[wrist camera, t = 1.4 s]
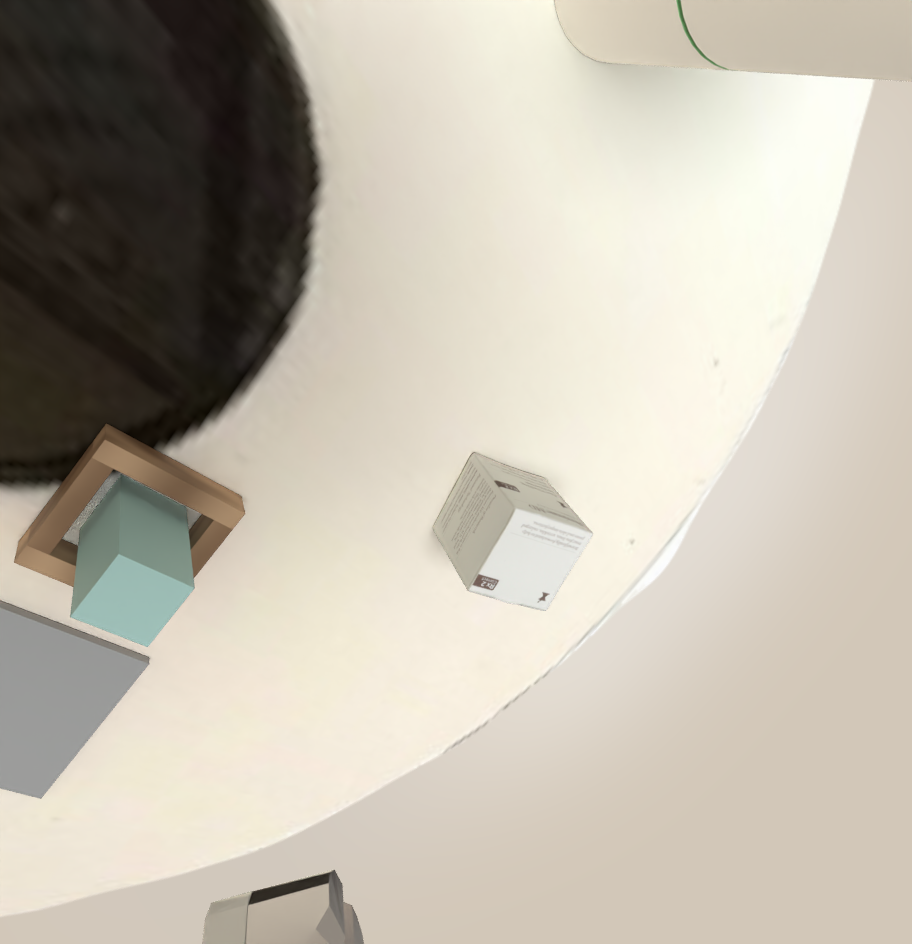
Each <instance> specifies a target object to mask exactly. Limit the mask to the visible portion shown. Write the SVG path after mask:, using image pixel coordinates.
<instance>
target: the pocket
mask: <svg viewBox="0 0 912 944" xmlns="http://www.w3.org/2000/svg"><path fill="white" fill-rule="evenodd" d="M113 469H115V470H117V471H119V472H121V473H123V474H125V475H127V476H129V477H131V478H133V479H135V480H137V481H139V482H141V483H142V484H144V485H146V486H148V487H150V488H152V489H154V490H156V491H158V492H160V493H162V494H164V495H166V496H168V497H170V498H172V499H174V500H176V501H178V502H180V503H182V504H184V505H186V506H188V507H190V508H192V509H194V510H196V511H197V512H199V513H201V514H202V515H201V516H200V518H199V519H198V520H197V522H196V523H195V524H194V525H193V527H192V528H191V529H190V531H189V540H190V549H191V559H192V568H193V578H194V577H195V576H196V575H197V574H198V572H199V571H200V570H201V569H202V567H203V566H204V565H205V564H206V562H207V561H208V560H209V559H210V557H211V556H212V555H213V553H214V552H215V551H216V550H217V548H218V547H219V546H220V545H221V543H222V542H223V541H224V540H225V538H226V537H227V536H228V535H229V533H230V532H231V531H232V530H233V528H234V527H235V526H236V525H237V523H238V522H239V521H240V520H241V518H242V517H243V516H244V514H245V510H244V506H243V501H242V497H241V496H240V495H238V494H236V493H234V492H232V491H231V490H229V489H227V488H225V487H223V486H221V485H219V484H218V483H216V482H214V481H212V480H210V479H208V478H206V477H205V476H203V475H201V474H199V473H197V472H195V471H194V470H192V469H190V468H188V467H186V466H184V465H182V464H181V463H179V462H177V461H175V460H173V459H171V458H169V457H168V456H166V455H164V454H162V453H160V452H158V451H156V450H155V449H153V448H151V447H149V446H147V445H145V444H143V443H142V442H140V441H138V440H136V439H134V438H132V437H131V436H129V435H127V434H125V433H123V432H121V431H119V430H118V429H116V428H114V427H112V426H110V425H108V424H106V425H105V426H104V427H103V429H102V430H101V431H100V433H99V434H98V435H97V437H96V438H95V439H94V441H93V442H92V444H91V445H90V446H89V448H88V449H87V450H86V452H85V453H84V454H83V456H82V457H81V458H80V460H79V461H78V462H77V464H76V465H75V467H74V468H73V469H72V471H71V472H70V473H69V475H68V476H67V477H66V479H65V480H64V481H63V483H62V484H61V485H60V487H59V488H58V490H57V491H56V492H55V494H54V495H53V496H52V498H51V499H50V500H49V502H48V503H47V504H46V506H45V507H44V508H43V510H42V511H41V513H40V514H39V515H38V517H37V518H36V519H35V521H34V522H33V523H32V525H31V526H30V527H29V529H28V530H27V531H26V533H25V534H24V536H23V537H22V538H21V540H20V541H19V543H18V547H17V551H16V556H15V560H14V563H17V564H19V565H21V566H24V567H26V568H29V569H31V570H34V571H36V572H38V573H41V574H43V575H46V576H48V577H51V578H53V579H56V580H58V581H60V582H63V583H65V584H68V585H70V586H73V587H74V580H75V571H76V562H77V553H78V546H76V545H74V544H71V543H69V542H67V541H65V540H62V537H63V536H64V535H65V533H66V532H67V531H68V529H69V528H70V527H71V525H72V524H73V523H74V521H75V520H76V519H77V517H78V516H79V515H80V513H81V512H82V511H83V509H84V508H85V507H86V505H87V504H88V503H89V501H90V500H91V499H92V497H93V496H94V495H95V493H96V492H97V491H98V489H99V488H100V487H101V485H102V484H103V483H104V481H105V480H106V479H107V477H108V476H109V475H110V473H111V472H112V471H113Z"/></svg>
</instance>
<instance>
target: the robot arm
mask: <svg viewBox="0 0 912 944" xmlns="http://www.w3.org/2000/svg"><path fill="white" fill-rule="evenodd" d="M342 888H343V887H342V883H341V881H340V879H339V877H338V876H337V873H336V872H335V870H331V871H327V872H323V873H320V874H316V875H312V876H309V877H305V878H301V879H298V880H294V881H290V882H286V883H283V884H279V885H275V886H271V887H268V888H264V889H260V890H257V891H251V892H247V893H244V894H240V895H237V896H233V897H230V898H227V899H223V900H220V901H216V902H213V903H211V905H210V908H209V910H208V913H207V916H206V918H205V925H204V934H203V943H202V944H364V942H363V936H362V932H361V928H360V925H359V922H358V918H357V916H356V913H355V911H354V909H353V907H352V905H350V904H347V903H345V902H343V889H342Z"/></svg>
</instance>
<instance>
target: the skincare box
mask: <svg viewBox="0 0 912 944" xmlns="http://www.w3.org/2000/svg"><path fill="white" fill-rule="evenodd" d="M433 531H434V532H435V534H436V536H437V537H438V539H439V541H440V543H441V544H442V546H443V548H444V550H445V551H446V553H447V555H448V557H449V559H450V560H451V562H452V564H453V566H454V567H455V569H456V571H457V573H458V574H459V576H460V578H461V580H462V582H463V583H464V585H465V587H466V589H467V590H468V591H470V592H473V593H476V594H480V595H483V596H487V597H490V598H494V599H498V600H500V601H503V602H506V603H510V604H517V605H521V606H525V607H529V608H533V609H537V610H542V611H546V610H547V609H548V607H549V606H550V604H551V602H552V600H553V599H554V597H555V595H556V594H557V592H558V590H559V588H560V587H561V585H562V584H563V582H564V580H565V579H566V577H567V575H568V574H569V572H570V571H571V569H572V568H573V566H574V564H575V563H576V561H577V560H578V558H579V556H580V555H581V553H582V552H583V550H584V549H585V547H586V546H587V544H588V542H589V540H590V539H591V537H592V535H593V533H592V531H591V530H590V529H589V528H588V527H587V526H586V525H585V524H584V522H583V521H582V520H581V519H580V518H579V517H578V516H577V514H576V513H575V512H574V511H573V510H572V509H571V508H570V506H569V505H568V504H567V503H566V502H565V501H564V500H563V499H562V497H561V496H560V495H559V494H558V493H557V492H556V490H555V489H554V488H553V487H552V486H551V485H550V484H549V483H548V481H547V480H546V479H545V478H543V477H540V476H537V475H533V474H530V473H527V472H524V471H521V470H518V469H515V468H512V467H509V466H507V465H504V464H501V463H499V462H496V461H494V460H491V459H489V458H487V457H484V456H482V455H480V454H477V453H473V454H472V455H471V456H470V458H469V460H468V462H467V464H466V466H465V467H464V469H463V471H462V473H461V475H460V477H459V479H458V481H457V482H456V484H455V486H454V488H453V490H452V492H451V494H450V496H449V498H448V499H447V501H446V503H445V505H444V507H443V509H442V511H441V512H440V514H439V516H438V518H437V520H436V522H435V524H434V526H433Z"/></svg>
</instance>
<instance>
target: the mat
mask: <svg viewBox="0 0 912 944" xmlns="http://www.w3.org/2000/svg"><path fill="white" fill-rule="evenodd" d="M148 665H149V657H147V656H144V655H141V654H139V653H136V652H134V651H131V650H128V649H126V648H123V647H120V646H118V645H115V644H113V643H110V642H107V641H105V640H102V639H99V638H97V637H94V636H91V635H89V634H86V633H84V632H81V631H78V630H76V629H73V628H70V627H68V626H65V625H63V624H60V623H57V622H55V621H52V620H49V619H47V618H44V617H42V616H39V615H36V614H34V613H31V612H28V611H26V610H23V609H21V608H18V607H15V606H13V605H10V604H7V603H5V602H2V601H0V788H1V789H5V790H9V791H13V792H17V793H21V794H25V795H29V796H32V797H36V798H40V799H41V798H42V797H43V796H44V794H45V793H46V792H47V791H48V789H49V788H50V787H51V786H52V784H53V783H54V782H55V781H56V779H57V778H58V777H59V776H60V774H61V773H62V772H63V771H64V769H65V768H66V767H67V766H68V764H69V763H70V762H71V761H72V759H73V758H74V757H75V756H76V754H77V753H78V752H79V751H80V749H81V748H82V747H83V746H84V745H85V743H86V742H87V741H88V740H89V738H90V737H91V736H92V735H93V733H94V732H95V731H96V730H97V728H98V727H99V726H100V725H101V723H102V722H103V721H104V720H105V718H106V717H107V716H108V715H109V713H110V712H111V711H112V710H113V708H114V707H115V706H116V705H117V703H118V702H119V701H120V700H121V698H122V697H123V696H124V695H125V693H126V692H127V691H128V690H129V688H130V687H131V686H132V685H133V683H134V682H135V681H136V680H137V678H138V677H139V676H140V675H141V673H142V672H143V671H144V670H145V668H146V667H147V666H148Z"/></svg>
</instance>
